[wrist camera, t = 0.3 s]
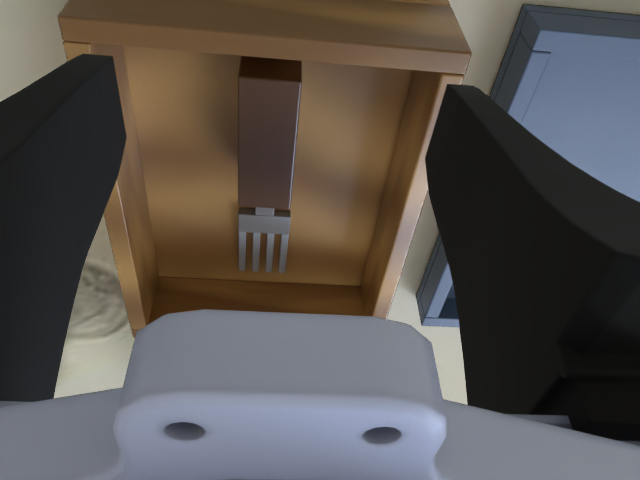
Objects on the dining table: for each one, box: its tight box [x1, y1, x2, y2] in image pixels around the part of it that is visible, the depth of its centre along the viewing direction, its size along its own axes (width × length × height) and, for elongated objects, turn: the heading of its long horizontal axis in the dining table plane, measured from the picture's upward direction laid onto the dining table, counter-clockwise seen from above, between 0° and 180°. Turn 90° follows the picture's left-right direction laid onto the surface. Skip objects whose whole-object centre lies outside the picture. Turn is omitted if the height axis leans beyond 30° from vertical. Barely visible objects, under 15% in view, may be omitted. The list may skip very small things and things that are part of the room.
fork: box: [238, 56, 302, 273], centre depth 24 cm, size 13×2×3 cm, turn 174°
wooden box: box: [58, 0, 472, 338], centre depth 24 cm, size 17×13×4 cm
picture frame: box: [416, 4, 640, 327], centre depth 27 cm, size 18×12×2 cm, turn 174°
